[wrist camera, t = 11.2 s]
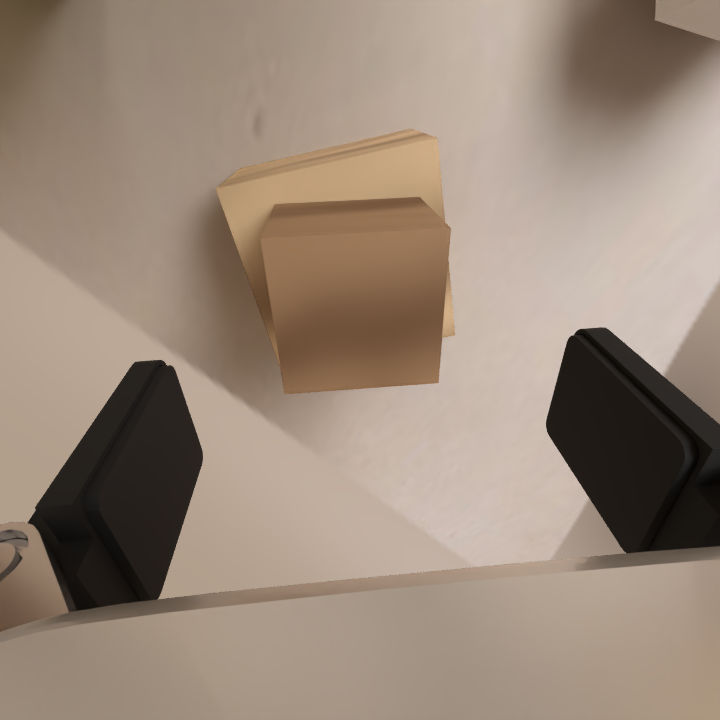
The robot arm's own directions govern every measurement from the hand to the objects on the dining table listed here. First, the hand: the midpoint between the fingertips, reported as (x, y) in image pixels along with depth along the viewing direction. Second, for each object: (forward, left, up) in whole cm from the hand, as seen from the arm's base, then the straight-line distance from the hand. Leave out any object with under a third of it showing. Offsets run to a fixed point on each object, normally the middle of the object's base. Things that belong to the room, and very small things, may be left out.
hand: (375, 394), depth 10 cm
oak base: (0, 0, -16) cm, 16 cm away
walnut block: (0, 0, -10) cm, 10 cm away
